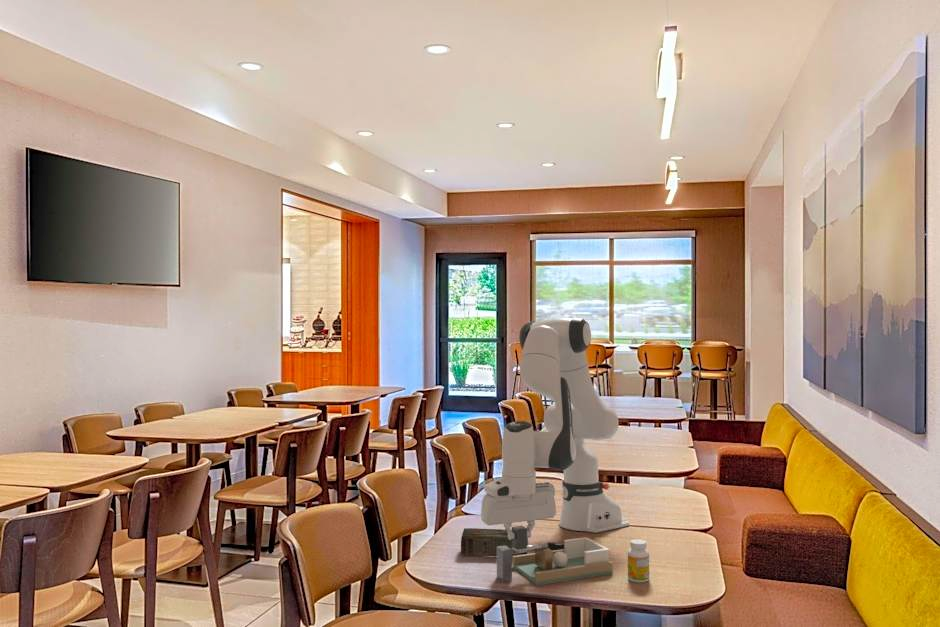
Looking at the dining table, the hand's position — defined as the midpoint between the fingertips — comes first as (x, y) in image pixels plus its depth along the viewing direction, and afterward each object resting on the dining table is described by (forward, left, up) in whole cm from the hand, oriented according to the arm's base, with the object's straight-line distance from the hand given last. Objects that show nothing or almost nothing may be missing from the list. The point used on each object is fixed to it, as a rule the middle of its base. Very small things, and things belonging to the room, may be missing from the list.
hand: (519, 538), depth 201 cm
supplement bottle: (-27, +13, -10) cm, 32 cm away
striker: (-3, 0, -9) cm, 9 cm away
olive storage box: (-2, -21, -11) cm, 23 cm away
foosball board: (-12, 0, -10) cm, 16 cm away
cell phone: (-18, -15, -11) cm, 26 cm away
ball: (-12, 0, -7) cm, 14 cm away
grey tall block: (+4, 0, -10) cm, 11 cm away
